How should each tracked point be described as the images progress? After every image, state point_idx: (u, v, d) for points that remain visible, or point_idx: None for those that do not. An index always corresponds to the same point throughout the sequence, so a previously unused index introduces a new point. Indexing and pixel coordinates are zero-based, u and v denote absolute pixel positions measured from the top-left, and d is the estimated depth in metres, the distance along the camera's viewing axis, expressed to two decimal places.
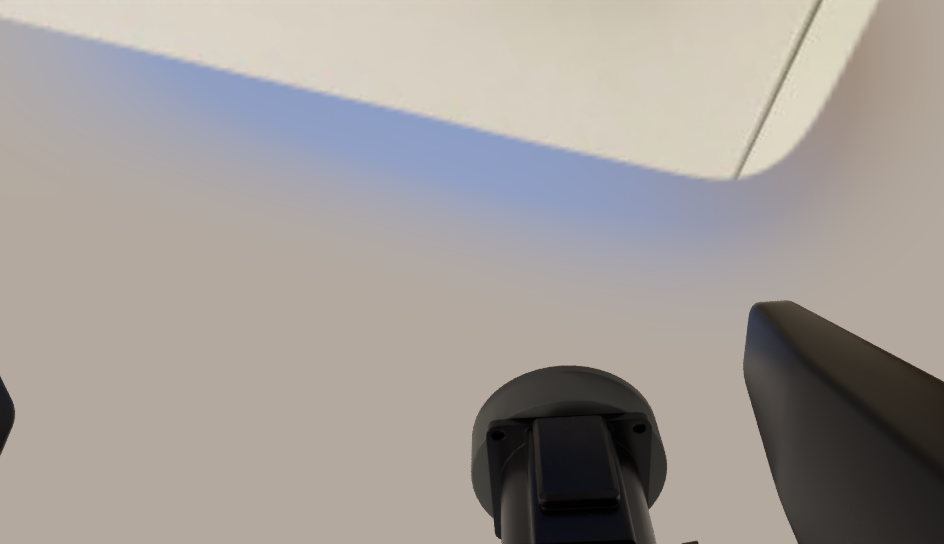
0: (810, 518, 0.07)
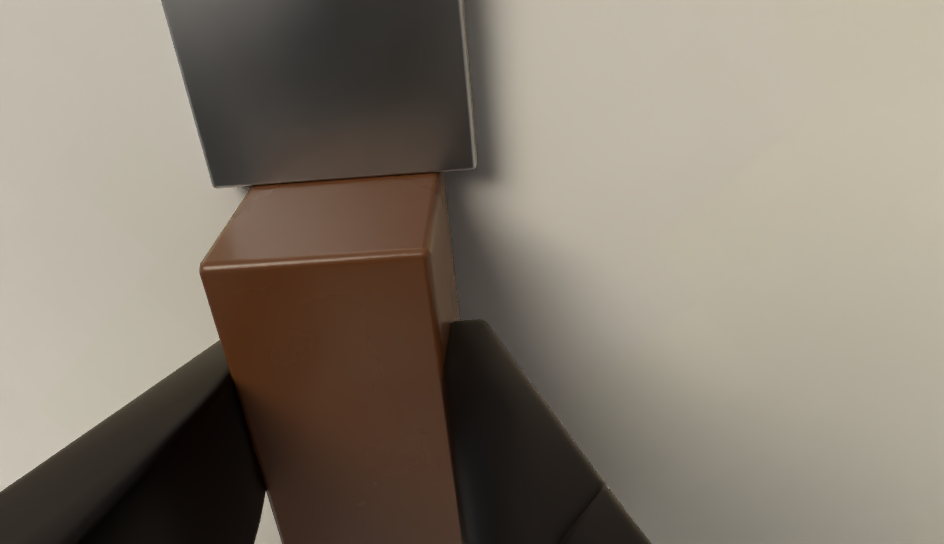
0: None
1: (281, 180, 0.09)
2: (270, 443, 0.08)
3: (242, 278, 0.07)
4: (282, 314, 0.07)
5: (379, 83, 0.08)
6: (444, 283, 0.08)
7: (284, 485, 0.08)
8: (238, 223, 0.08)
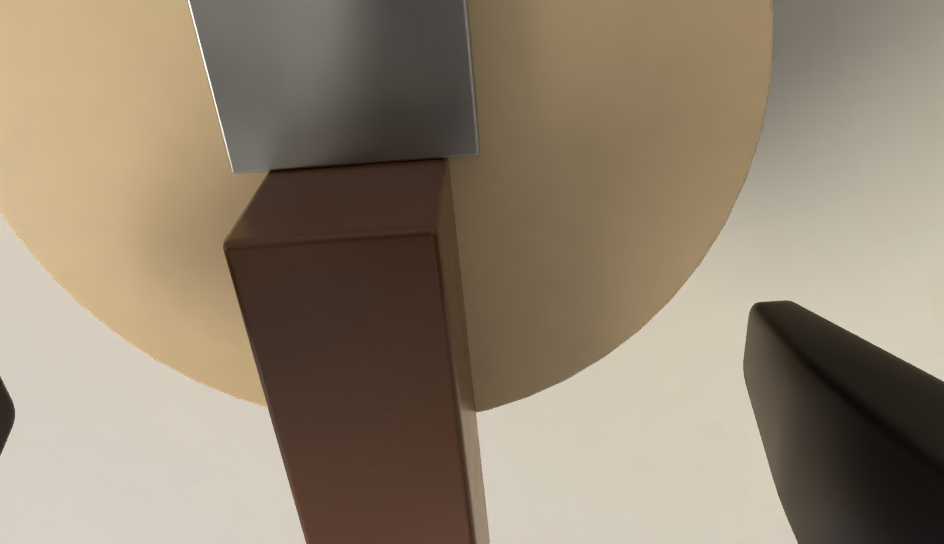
0: (810, 518, 0.07)
1: (295, 167, 0.09)
2: (286, 411, 0.09)
3: (263, 254, 0.08)
4: (300, 288, 0.08)
5: (388, 74, 0.08)
6: (449, 261, 0.08)
7: (299, 452, 0.09)
8: (257, 205, 0.08)
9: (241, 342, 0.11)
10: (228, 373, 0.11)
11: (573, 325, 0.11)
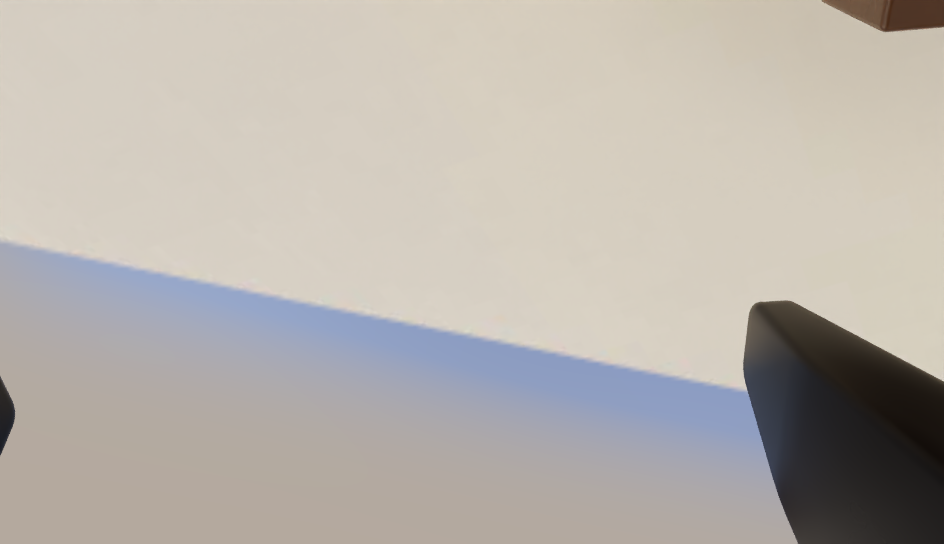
0: (811, 518, 0.07)
1: None
2: None
3: None
4: None
5: None
6: None
7: None
8: None
9: None
10: None
11: None
